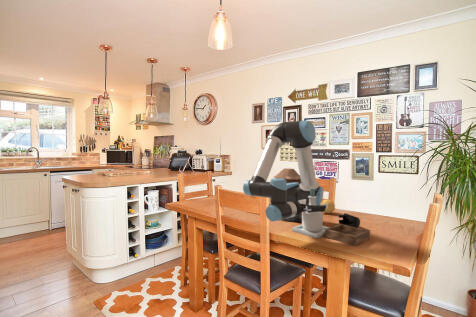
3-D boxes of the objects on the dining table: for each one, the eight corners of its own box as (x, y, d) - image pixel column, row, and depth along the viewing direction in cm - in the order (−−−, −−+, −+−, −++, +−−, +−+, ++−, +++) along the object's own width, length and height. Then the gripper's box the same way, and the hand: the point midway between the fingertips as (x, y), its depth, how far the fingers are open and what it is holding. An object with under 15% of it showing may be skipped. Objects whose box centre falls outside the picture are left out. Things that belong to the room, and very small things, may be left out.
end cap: (360, 228, 143) (360, 216, 143) (349, 229, 141) (350, 217, 141) (348, 223, 152) (348, 212, 152) (338, 224, 150) (338, 213, 150)
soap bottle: (323, 233, 132) (324, 189, 131) (305, 232, 132) (305, 189, 131) (318, 227, 141) (318, 187, 141) (301, 227, 142) (301, 187, 141)
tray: (292, 230, 138) (292, 227, 138) (308, 225, 147) (308, 222, 147) (316, 238, 126) (316, 234, 126) (332, 232, 136) (332, 228, 136)
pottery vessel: (276, 209, 191) (276, 169, 190) (269, 202, 216) (269, 167, 215) (309, 208, 193) (310, 169, 192) (298, 202, 218) (299, 167, 218)
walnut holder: (324, 237, 128) (325, 229, 128) (340, 231, 138) (340, 223, 138) (355, 245, 116) (355, 237, 116) (369, 238, 126) (369, 230, 126)
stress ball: (336, 215, 175) (335, 204, 183) (334, 206, 170) (333, 195, 177) (321, 216, 179) (320, 205, 186) (319, 208, 173) (318, 196, 181)
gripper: (272, 212, 135) (297, 206, 148) (313, 222, 115) (337, 214, 129) (272, 198, 134) (297, 193, 148) (313, 205, 115) (337, 200, 129)
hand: (315, 203), depth 139 cm, fingers open, 13 cm apart
